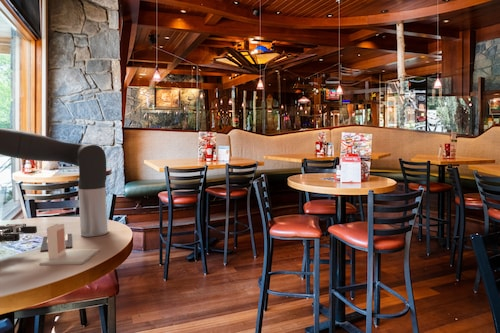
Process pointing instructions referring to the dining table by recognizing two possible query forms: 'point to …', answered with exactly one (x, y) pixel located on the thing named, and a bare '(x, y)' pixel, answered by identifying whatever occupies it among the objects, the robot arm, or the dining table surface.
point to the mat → (71, 257)
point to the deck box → (56, 241)
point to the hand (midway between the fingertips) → (27, 233)
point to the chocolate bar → (67, 243)
